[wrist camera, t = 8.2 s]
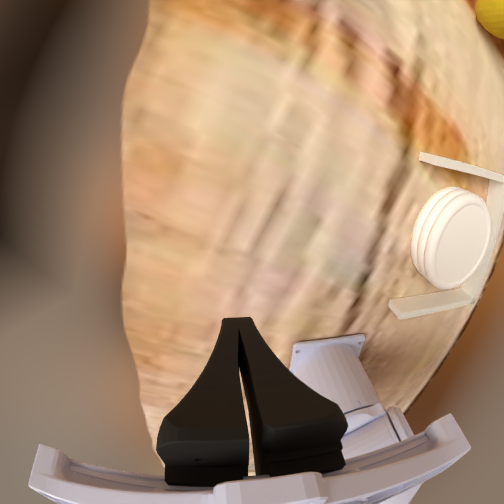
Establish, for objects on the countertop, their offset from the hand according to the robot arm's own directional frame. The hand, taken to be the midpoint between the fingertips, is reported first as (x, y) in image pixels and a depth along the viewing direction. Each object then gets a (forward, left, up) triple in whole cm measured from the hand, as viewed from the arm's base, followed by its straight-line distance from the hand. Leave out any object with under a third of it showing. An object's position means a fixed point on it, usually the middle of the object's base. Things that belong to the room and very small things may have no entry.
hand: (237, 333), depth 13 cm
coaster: (+1, -22, -10) cm, 24 cm away
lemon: (+27, -26, -10) cm, 39 cm away
